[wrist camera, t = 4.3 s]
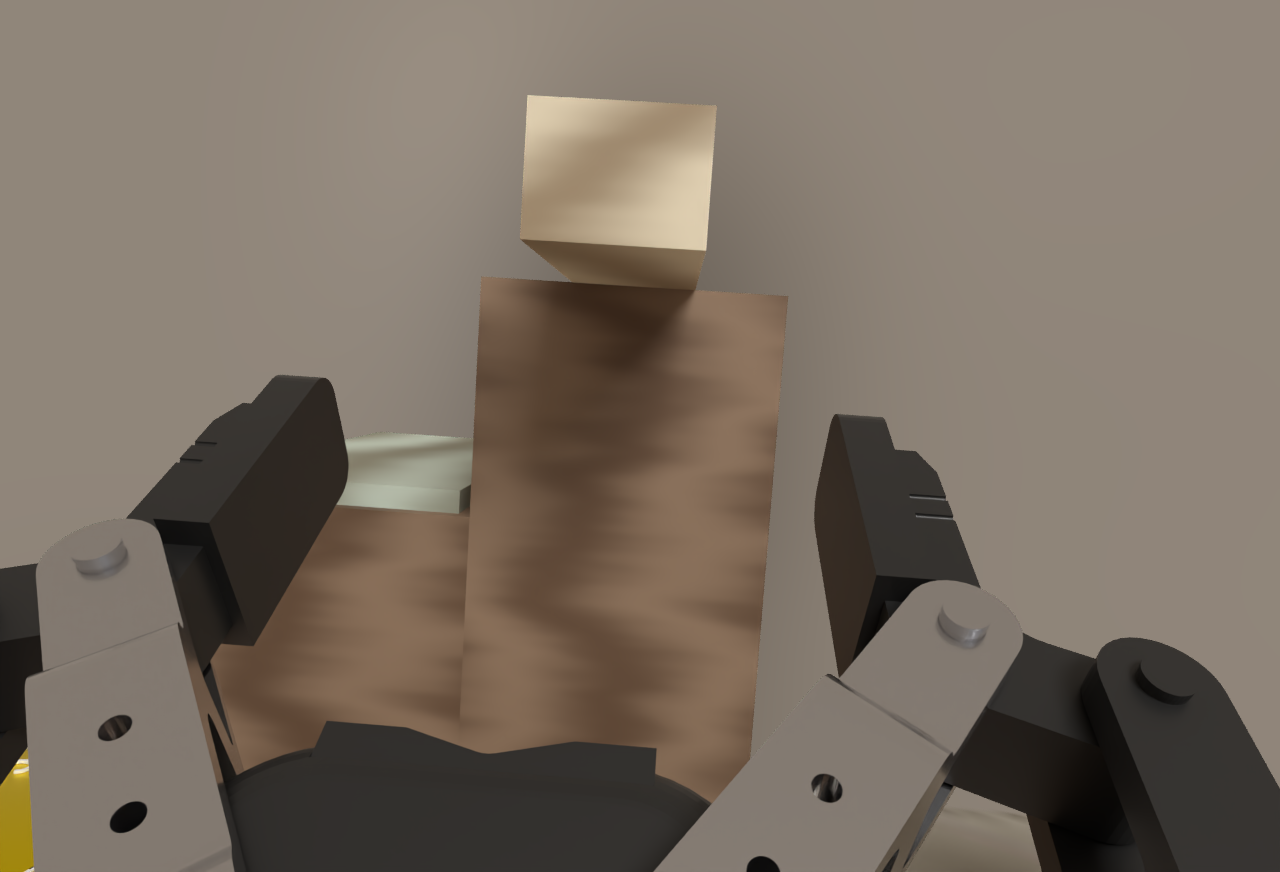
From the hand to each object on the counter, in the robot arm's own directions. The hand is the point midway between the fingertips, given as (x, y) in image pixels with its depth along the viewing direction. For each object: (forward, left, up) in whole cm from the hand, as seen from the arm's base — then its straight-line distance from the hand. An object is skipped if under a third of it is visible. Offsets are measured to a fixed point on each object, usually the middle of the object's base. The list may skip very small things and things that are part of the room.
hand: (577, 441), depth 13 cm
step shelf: (+5, -23, -28) cm, 36 cm away
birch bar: (0, -18, +4) cm, 18 cm away
